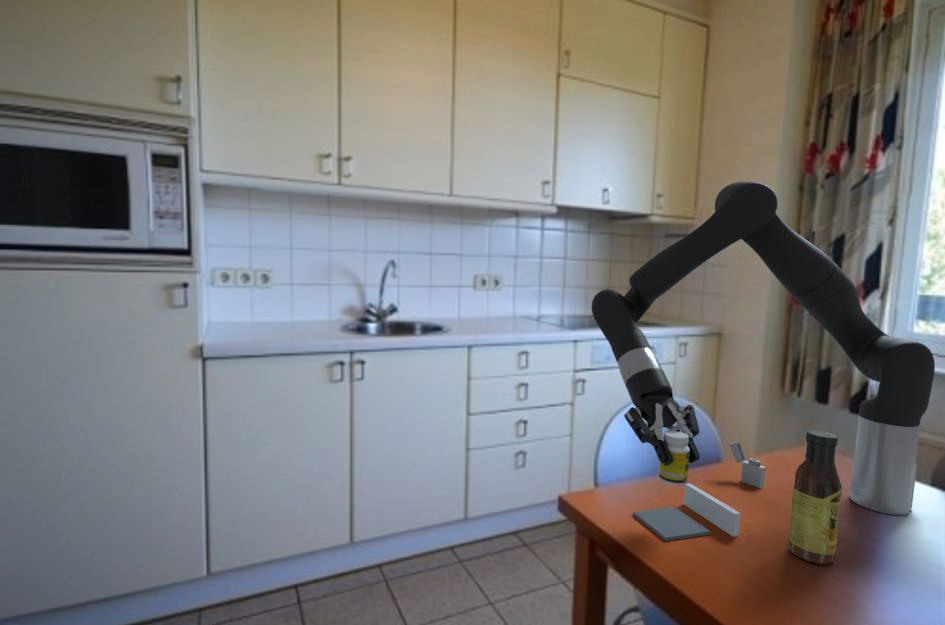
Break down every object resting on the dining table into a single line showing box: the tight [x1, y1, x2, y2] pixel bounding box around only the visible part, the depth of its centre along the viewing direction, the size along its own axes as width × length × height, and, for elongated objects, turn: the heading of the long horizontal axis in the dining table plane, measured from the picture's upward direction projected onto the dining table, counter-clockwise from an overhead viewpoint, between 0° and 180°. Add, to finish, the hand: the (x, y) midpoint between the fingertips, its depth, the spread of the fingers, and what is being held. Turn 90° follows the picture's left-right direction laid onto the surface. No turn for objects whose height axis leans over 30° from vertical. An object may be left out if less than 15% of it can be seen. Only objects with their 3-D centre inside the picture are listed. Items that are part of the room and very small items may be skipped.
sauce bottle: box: [788, 429, 843, 565], centre depth 79 cm, size 7×6×20 cm
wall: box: [683, 483, 741, 538], centre depth 91 cm, size 1×12×4 cm, turn 17°
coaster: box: [632, 506, 711, 542], centre depth 88 cm, size 9×9×1 cm
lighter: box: [729, 441, 767, 489], centre depth 108 cm, size 7×2×8 cm, turn 36°
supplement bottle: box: [657, 430, 690, 487], centre depth 88 cm, size 5×5×8 cm
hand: (681, 462), depth 86 cm, fingers closed on supplement bottle, 4 cm apart
